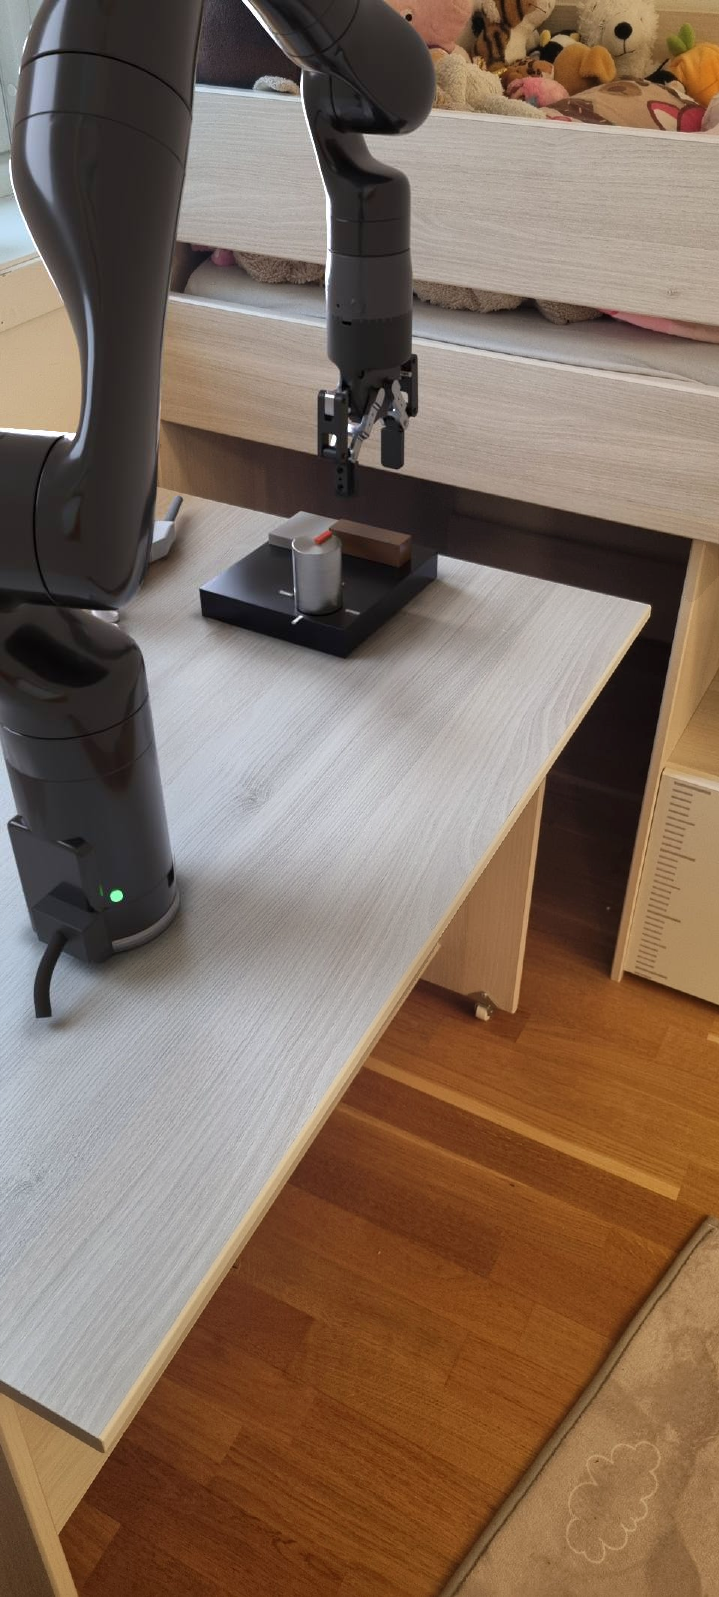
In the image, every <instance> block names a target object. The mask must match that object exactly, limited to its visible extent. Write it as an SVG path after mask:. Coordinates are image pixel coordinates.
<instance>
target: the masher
mask: <svg viewBox="0 0 719 1597" xmlns="http://www.w3.org/2000/svg"><path fill="white" fill-rule="evenodd" d="M325 531H331V532H332V535H334V536H336V537H338V538H339V539H340V540H341V544H342V553H344V554H347V555H351V556H355V557H359V558H363V559H367V560H371V561H375V562H379V563H383V564H387V565H390V566H394V567H398V568H400V567H401V566H402V565H403V564H405V563H406V562H407V561H408V560H410V559H411V544H412V538H413V537H412V535H410V534H406V533H402V532H399V531H398V532H397V531H393V530H389V529H385V528H381V527H377V526H373V525H369V524H364V523H361V522H357V521H352V520H348V519H344V518H340V519H336V518H330V517H327V516H322V515H319V514H314V513H310V512H306V511H302V510H299V511H298V512H297V513H295V514H294V515H293V516H291V517H289V518H288V519H287V520H285V521H284V522H283V523H281V524H279V525H278V526H276V527H275V528H273V529H272V530H271V531H270V532H268V541H269V544H272V545H276V546H279V547H283V548H287V549H291V550H292V543H293V541H294V540H295V539H296V538H297V537H299V536H301V535H304V534H309V533H324V532H325Z"/></svg>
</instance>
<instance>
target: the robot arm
mask: <svg viewBox="0 0 719 1597" xmlns="http://www.w3.org/2000/svg"><path fill="white" fill-rule="evenodd" d="M242 2H243V3H244V5H245V6H246V7H247V8H248V9H249V10H250V11H251V13H252V14H253V16H255V18H256V19H257V21H258V22H259V23H260V24H261V26H262V27H263V28H264V29H265V31H266V32H267V33H268V35H269V36H270V37H271V38H272V40H273V41H274V42H275V43H276V45H277V46H278V47H279V48H280V49H281V51H282V52H283V53H284V55H286V57H287V59H290V60H291V61H292V63H294V64H295V65H296V66H298V67H299V68H300V69H301V71H300V95H301V103H302V109H303V113H304V117H305V121H306V125H307V128H308V132H309V135H310V139H311V142H312V146H313V150H314V153H315V157H316V162H317V166H318V170H319V174H320V178H321V181H322V186H323V189H324V190H323V191H324V194H325V212H326V244H327V249H326V251H327V252H326V264H325V273H324V275H325V276H324V285H325V286H324V288H325V291H324V292H325V294H324V295H325V325H326V326H325V327H326V328H325V329H326V331H325V332H326V355H327V358H328V360H329V361H330V362H331V363H332V364H334V366H336V368H337V369H338V370H339V376H338V383H337V387H336V388H335V389H333V390H327V389H320V390H319V391H318V393H317V398H316V400H317V402H316V403H317V405H316V407H317V408H316V409H317V410H316V411H317V415H316V416H317V417H316V419H317V422H316V423H317V424H316V426H317V427H316V428H317V430H316V431H317V432H316V433H317V436H316V437H317V438H316V440H317V441H316V442H317V443H316V446H317V449H316V450H317V452H316V453H317V454H316V455H317V457H318V458H319V459H322V460H329V461H332V463H333V491H334V496H335V497H336V498H337V499H339V500H343V501H347V502H354V501H356V500H357V499H358V498H359V497H360V478H359V477H360V472H359V471H360V470H359V469H360V466H359V462H360V461H359V460H358V458H359V455H360V452H361V449H362V445H363V442H364V441H366V440H367V439H369V438H370V437H371V432H372V429H373V426H374V425H375V424H376V423H377V422H378V421H379V422H380V424H381V426H382V427H381V428H380V464H381V466H382V467H383V468H386V469H391V470H396V471H398V470H400V469H401V468H403V467H404V465H405V432H406V430H407V429H408V428H409V426H410V418H411V417H412V418H416V417H417V415H418V413H419V364H418V363H419V360H418V359H419V358H418V355H417V353H413V303H414V302H413V301H414V300H413V298H414V297H413V296H414V292H413V291H414V274H413V272H414V271H413V263H412V262H413V261H412V255H411V254H412V253H411V235H412V232H411V231H412V227H411V226H412V188H411V183H410V180H409V178H408V176H407V175H406V173H404V172H403V171H401V170H400V169H398V168H396V167H394V166H391V165H388V164H385V163H383V162H381V161H379V160H378V159H377V158H375V157H374V156H373V155H372V153H371V151H370V150H369V147H368V145H367V142H366V139H365V137H364V135H374V136H383V137H402V136H406V135H409V134H412V133H413V132H415V131H417V130H418V129H419V128H420V127H421V126H422V125H423V124H424V123H425V122H426V120H427V119H428V118H429V116H430V114H431V112H432V110H433V106H434V105H435V100H436V95H437V86H438V84H437V72H436V67H435V62H434V59H433V56H432V53H431V51H430V49H429V46H428V45H427V43H426V41H425V39H424V38H423V36H422V35H421V34H420V32H419V31H418V30H417V29H416V28H415V26H414V25H413V24H411V22H410V21H408V20H407V19H406V18H405V17H404V16H403V15H402V14H401V13H400V12H399V11H397V10H396V9H395V8H394V7H393V6H392V5H390V4H389V3H388V2H386V1H385V0H242ZM205 8H206V0H42V1H41V4H40V6H39V9H38V10H37V12H36V14H35V16H34V17H33V20H32V22H31V25H30V28H29V31H28V34H27V36H26V40H25V42H24V46H23V50H22V53H21V54H22V55H21V60H20V63H19V64H20V65H19V71H18V82H17V87H16V88H17V90H16V97H15V107H14V114H13V124H12V131H11V141H10V156H9V174H10V182H11V186H12V189H13V193H14V197H15V200H16V203H17V205H18V208H19V212H20V214H21V216H22V219H23V221H24V223H25V226H26V229H27V231H28V233H29V235H30V237H31V240H32V242H33V244H34V247H35V248H36V250H37V252H38V254H39V256H40V258H41V260H42V262H43V264H44V267H45V268H46V270H47V272H48V274H49V276H50V279H51V280H52V283H53V284H54V287H55V288H56V290H57V292H58V294H59V297H60V299H61V301H62V303H63V305H64V308H65V310H66V313H67V317H68V319H69V321H70V325H71V327H72V330H73V333H74V336H75V340H76V344H77V349H78V356H79V364H80V366H79V367H80V378H81V379H80V382H81V388H80V389H81V390H80V392H81V393H80V411H79V420H78V425H77V429H76V432H75V433H74V432H73V433H71V432H62V431H61V432H59V431H46V430H31V429H30V430H29V429H15V428H3V427H0V746H1V750H2V755H3V759H4V763H5V767H6V772H7V776H8V780H9V784H10V785H9V786H10V789H11V792H12V797H13V802H14V805H15V809H16V814H15V815H14V816H13V817H11V818H10V819H9V820H8V821H7V823H6V829H7V832H8V837H9V840H10V846H11V849H12V853H13V858H14V861H15V865H16V868H17V872H18V876H19V882H20V885H21V888H22V893H23V896H24V900H25V904H26V905H25V906H26V908H27V913H28V917H29V921H30V925H31V928H32V932H34V933H36V937H37V940H38V941H39V942H41V943H44V944H46V945H47V946H46V949H45V950H44V953H43V955H42V957H41V959H40V961H39V963H38V967H37V970H36V974H35V978H34V982H33V1006H34V1014H35V1019H44V1018H52V1017H53V1013H52V1003H51V995H50V994H51V984H52V983H51V982H52V978H53V975H54V971H55V968H56V965H57V963H58V962H59V958H60V957H61V955H62V952H63V953H65V954H67V955H69V956H71V957H72V958H75V959H77V960H80V961H82V962H83V963H86V964H88V965H90V964H91V963H92V962H94V961H96V962H98V963H103V962H105V961H107V959H108V958H110V957H111V956H112V955H113V954H116V953H120V952H125V951H128V950H131V949H134V948H136V947H139V946H141V945H144V944H146V943H147V942H150V941H151V940H152V939H154V938H156V937H157V936H158V935H160V934H161V933H162V932H164V930H166V928H167V927H168V926H169V925H170V924H171V923H172V921H173V920H174V918H175V917H176V914H177V912H178V910H179V907H180V900H181V898H180V897H181V896H180V889H179V885H178V878H177V867H176V863H177V862H176V856H175V854H173V850H172V844H171V838H170V832H169V824H168V818H167V817H168V816H167V810H166V804H165V803H166V802H165V796H164V790H163V789H164V788H163V782H162V775H161V770H160V769H161V768H160V762H159V755H158V749H157V742H156V741H157V740H156V735H155V729H154V728H155V726H154V719H153V712H152V706H151V699H150V698H151V697H150V691H149V684H148V676H147V675H148V674H147V670H146V668H147V667H146V663H145V659H144V655H143V652H142V650H141V648H140V646H139V644H138V643H137V642H136V640H135V638H133V637H132V636H131V635H130V634H129V633H128V632H126V631H125V630H123V629H122V628H120V627H119V626H118V627H119V628H118V627H117V626H115V625H113V624H114V623H113V624H111V623H112V622H111V623H109V622H107V621H105V620H103V619H101V618H99V617H97V616H95V615H93V614H92V612H89V611H92V610H96V611H112V612H116V611H119V610H121V609H123V608H125V607H126V606H128V605H130V604H131V603H132V601H133V600H134V599H135V598H136V596H137V594H138V593H139V591H140V589H141V587H142V585H143V583H144V580H145V578H146V574H147V570H148V567H149V563H150V562H149V559H150V555H151V549H152V543H153V535H154V526H155V521H156V511H157V510H156V509H157V498H158V497H157V494H158V478H159V476H158V475H159V454H160V453H159V452H160V431H161V428H160V427H161V411H162V410H161V407H162V384H163V366H164V365H163V364H164V347H165V337H166V336H165V335H166V326H167V316H168V310H169V309H168V308H169V299H170V290H171V282H172V281H171V280H172V274H173V266H174V259H175V252H176V245H177V238H178V233H179V232H178V231H179V226H180V225H179V224H180V217H181V211H182V207H183V206H182V205H183V199H184V193H185V185H186V178H187V170H188V162H189V153H190V145H191V138H192V128H193V127H192V126H193V117H194V105H195V94H196V81H197V69H198V68H197V67H198V61H199V60H198V59H199V51H200V45H201V36H202V29H203V23H204V22H203V21H204V15H205V14H204V13H205ZM403 393H406V395H407V402H406V400H405V398H404V395H403ZM349 420H350V421H351V423H354V424H350V423H349ZM355 424H357V425H355ZM330 435H332V438H331V441H330ZM349 437H351V440H350V442H349ZM349 443H350V444H349Z"/></svg>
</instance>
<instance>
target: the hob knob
mask: <svg viewBox="0 0 719 1597" xmlns="http://www.w3.org/2000/svg"><path fill="white" fill-rule="evenodd" d="M292 553H293V573H294V592H295V606H296V607H297V609H299V610H300V611H302V612H304V613H307V614H313V615H323V614H329V613H332V612H335V611H337V610H338V609H339V608H341V606H342V604H343V586H342V544H341V540H340V539H339V538H338V537H336V536H334V535H332V532H331V531H325V532H324V533H309V534H304V535H301V536H299V537H297V538H296V539H295V540H294V541H293V543H292Z"/></svg>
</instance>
